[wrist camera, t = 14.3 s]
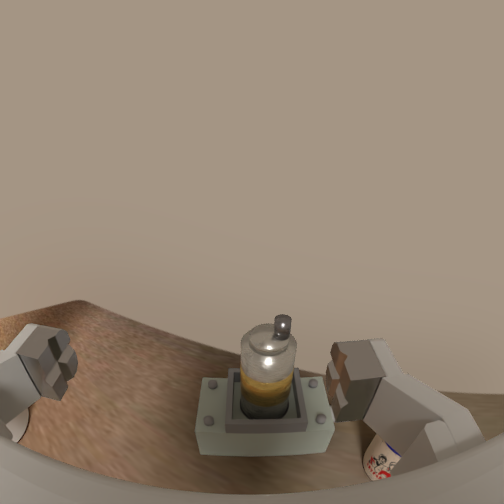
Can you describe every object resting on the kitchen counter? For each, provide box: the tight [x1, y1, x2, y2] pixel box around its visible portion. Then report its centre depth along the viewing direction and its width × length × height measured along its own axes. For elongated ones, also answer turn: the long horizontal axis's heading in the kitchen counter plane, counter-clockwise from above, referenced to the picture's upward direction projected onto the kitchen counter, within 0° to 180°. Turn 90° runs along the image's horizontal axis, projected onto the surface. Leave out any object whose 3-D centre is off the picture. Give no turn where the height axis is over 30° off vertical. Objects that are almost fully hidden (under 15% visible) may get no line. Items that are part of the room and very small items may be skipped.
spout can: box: [240, 314, 297, 419], centre depth 31 cm, size 6×6×13 cm
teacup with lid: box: [363, 433, 402, 481], centre depth 25 cm, size 12×9×12 cm
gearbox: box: [195, 368, 335, 456], centre depth 34 cm, size 20×9×8 cm, turn 91°
